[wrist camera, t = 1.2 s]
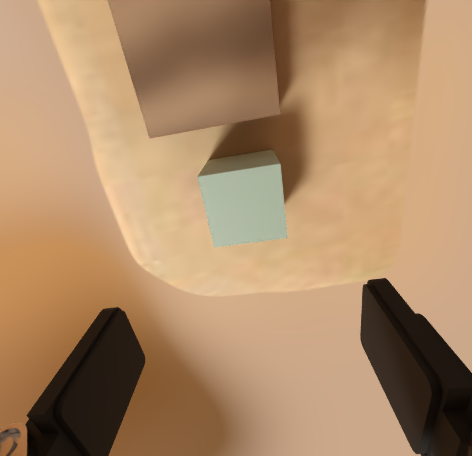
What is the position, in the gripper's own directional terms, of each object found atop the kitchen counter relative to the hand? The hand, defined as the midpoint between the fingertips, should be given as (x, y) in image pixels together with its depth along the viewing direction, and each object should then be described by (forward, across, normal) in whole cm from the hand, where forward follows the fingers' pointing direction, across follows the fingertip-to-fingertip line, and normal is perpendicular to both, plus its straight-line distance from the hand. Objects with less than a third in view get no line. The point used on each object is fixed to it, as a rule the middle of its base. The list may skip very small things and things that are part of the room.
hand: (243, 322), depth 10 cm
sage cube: (+17, 0, -1) cm, 17 cm away
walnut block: (+17, +1, -12) cm, 21 cm away
